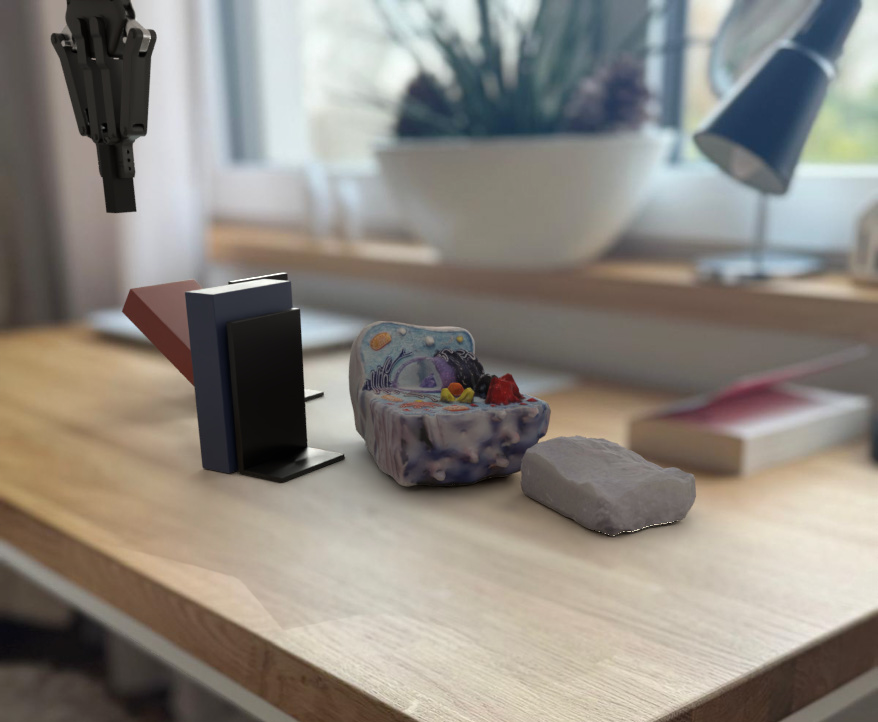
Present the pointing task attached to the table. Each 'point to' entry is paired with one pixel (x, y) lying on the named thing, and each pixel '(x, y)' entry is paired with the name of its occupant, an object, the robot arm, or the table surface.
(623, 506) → the stone block
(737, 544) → the table surface
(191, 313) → the navy book
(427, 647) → the table surface
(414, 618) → the table surface
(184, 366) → the maroon book
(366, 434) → the cell model
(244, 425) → the black book support
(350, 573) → the table surface
